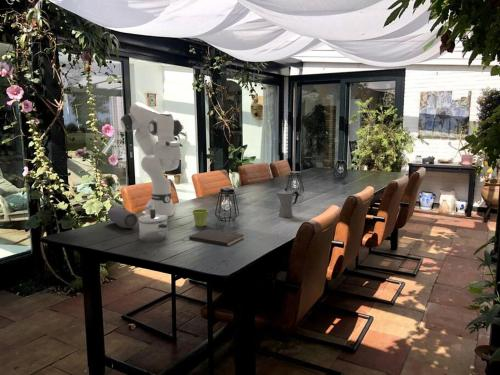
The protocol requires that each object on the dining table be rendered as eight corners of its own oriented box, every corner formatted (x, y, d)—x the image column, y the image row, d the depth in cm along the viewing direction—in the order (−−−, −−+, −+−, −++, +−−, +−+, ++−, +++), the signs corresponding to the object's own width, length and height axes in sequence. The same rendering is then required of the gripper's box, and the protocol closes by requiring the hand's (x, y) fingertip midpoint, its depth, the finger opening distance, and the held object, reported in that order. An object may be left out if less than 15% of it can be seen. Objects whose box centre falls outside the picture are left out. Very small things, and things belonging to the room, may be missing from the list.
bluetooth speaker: (139, 228, 228) (138, 211, 226) (123, 231, 222) (122, 213, 220) (122, 221, 245) (121, 205, 243) (106, 223, 239) (105, 207, 237)
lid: (133, 218, 209) (132, 209, 208) (158, 214, 219) (158, 205, 218) (147, 223, 198) (146, 214, 198) (172, 219, 208) (172, 210, 207)
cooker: (130, 236, 212) (129, 217, 210) (154, 231, 222) (153, 213, 221) (153, 244, 198) (152, 224, 196) (177, 238, 208) (176, 219, 207)
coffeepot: (278, 218, 253) (278, 189, 250) (273, 214, 262) (273, 187, 259) (301, 216, 257) (301, 188, 254) (295, 213, 266) (295, 186, 263)
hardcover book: (207, 233, 221) (207, 229, 220) (243, 239, 210) (243, 234, 210) (189, 240, 207) (189, 236, 207) (227, 247, 196) (227, 242, 196)
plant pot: (193, 228, 229) (193, 212, 228) (191, 223, 238) (191, 209, 237) (210, 226, 232) (209, 212, 230) (207, 222, 241) (207, 208, 239)
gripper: (150, 142, 228) (151, 166, 230) (172, 143, 214) (173, 169, 216) (160, 141, 233) (160, 165, 235) (182, 142, 219) (182, 168, 221)
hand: (166, 167), depth 226 cm, fingers open, 8 cm apart
